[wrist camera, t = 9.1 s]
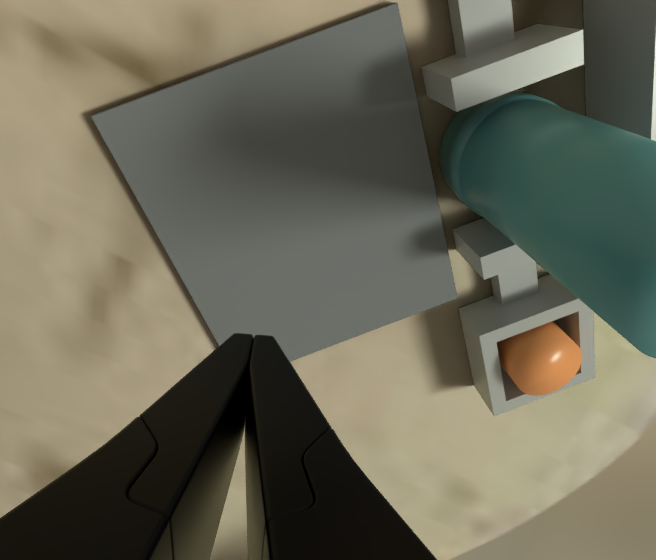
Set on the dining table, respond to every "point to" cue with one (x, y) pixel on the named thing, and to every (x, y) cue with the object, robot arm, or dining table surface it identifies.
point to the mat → (293, 187)
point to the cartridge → (565, 200)
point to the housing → (601, 104)
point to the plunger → (540, 359)
